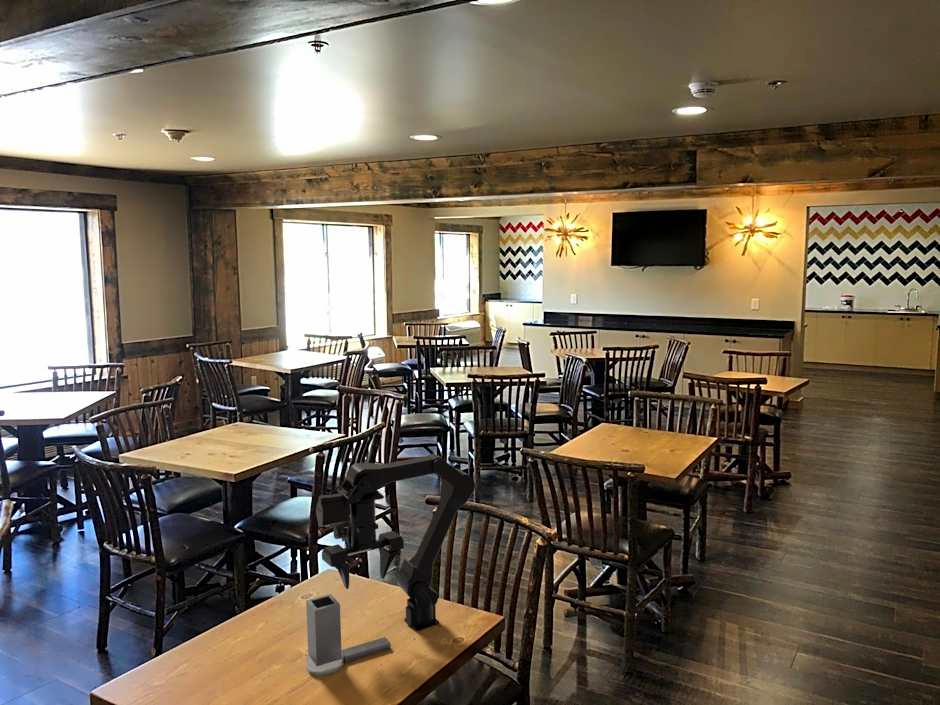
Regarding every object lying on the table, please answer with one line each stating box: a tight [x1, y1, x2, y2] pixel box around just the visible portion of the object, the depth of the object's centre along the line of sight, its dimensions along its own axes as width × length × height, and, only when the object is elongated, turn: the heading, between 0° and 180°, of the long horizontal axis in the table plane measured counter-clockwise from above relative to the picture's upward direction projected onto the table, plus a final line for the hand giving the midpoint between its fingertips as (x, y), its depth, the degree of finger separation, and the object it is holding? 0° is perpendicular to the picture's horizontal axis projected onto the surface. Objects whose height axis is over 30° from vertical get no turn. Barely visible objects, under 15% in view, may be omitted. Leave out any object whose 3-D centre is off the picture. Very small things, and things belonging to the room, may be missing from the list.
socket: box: [305, 593, 342, 666], centre depth 154 cm, size 6×6×12 cm
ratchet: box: [305, 636, 392, 677], centre depth 157 cm, size 19×8×4 cm, turn 121°
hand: (364, 583), depth 165 cm, fingers open, 9 cm apart
